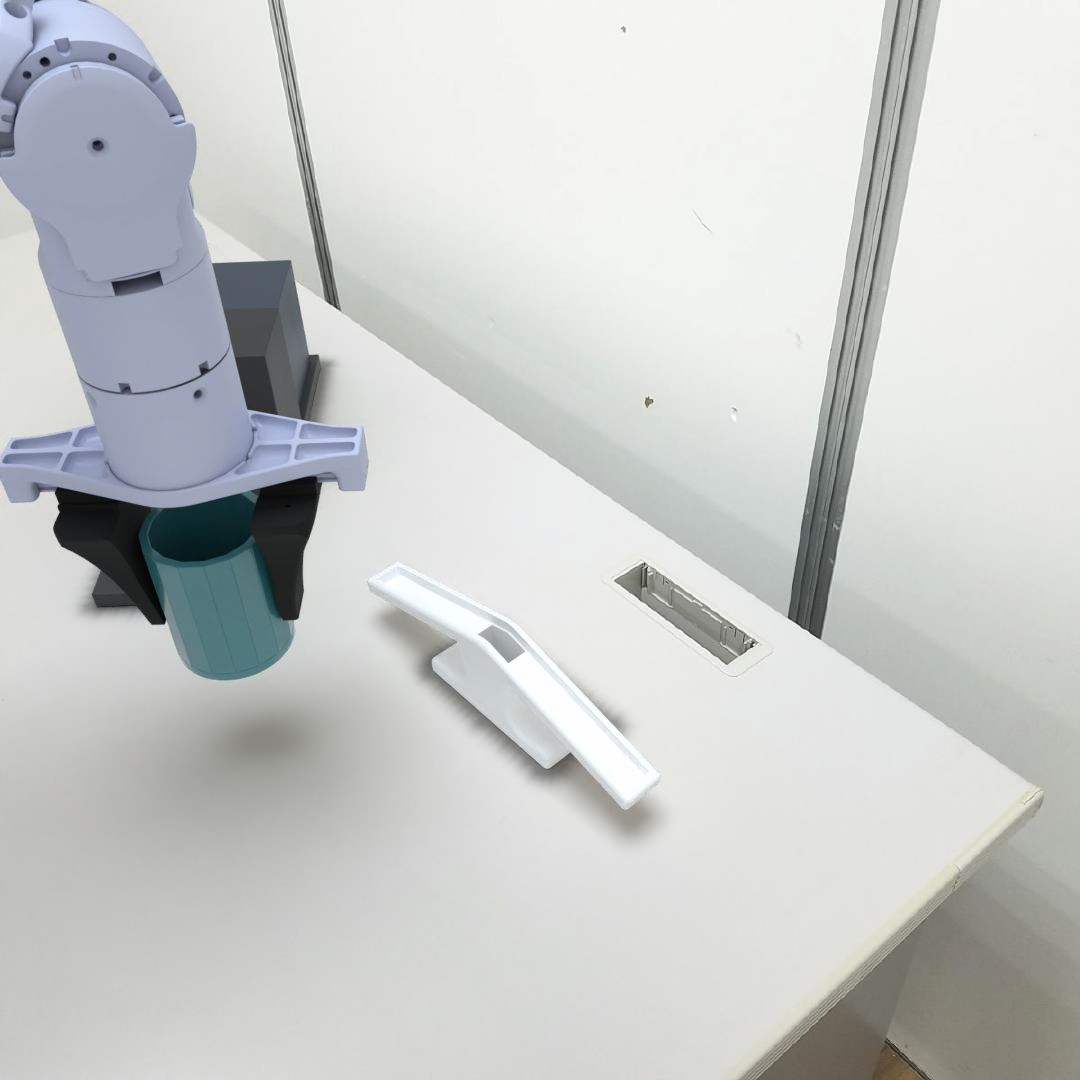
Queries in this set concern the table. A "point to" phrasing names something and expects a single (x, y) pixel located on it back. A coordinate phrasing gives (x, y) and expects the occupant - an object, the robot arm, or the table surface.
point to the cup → (215, 587)
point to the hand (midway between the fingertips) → (229, 607)
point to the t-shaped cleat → (518, 684)
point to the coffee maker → (257, 355)
